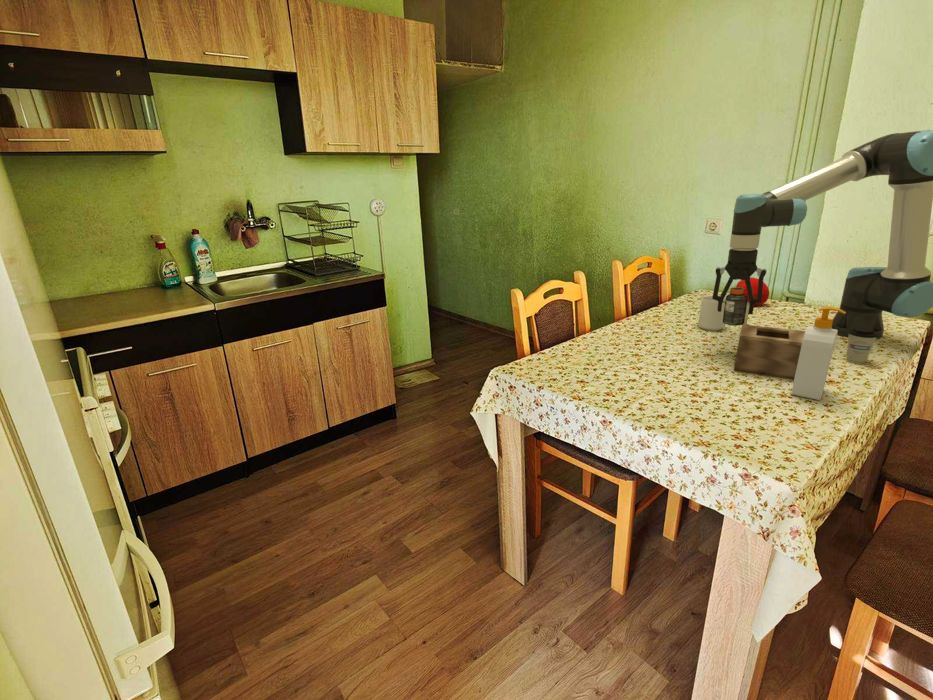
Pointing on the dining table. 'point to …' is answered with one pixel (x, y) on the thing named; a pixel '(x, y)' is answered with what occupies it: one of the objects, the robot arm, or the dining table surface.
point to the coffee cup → (860, 344)
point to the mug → (710, 314)
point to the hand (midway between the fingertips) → (733, 322)
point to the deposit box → (768, 351)
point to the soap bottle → (815, 357)
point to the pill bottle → (735, 307)
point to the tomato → (755, 290)
